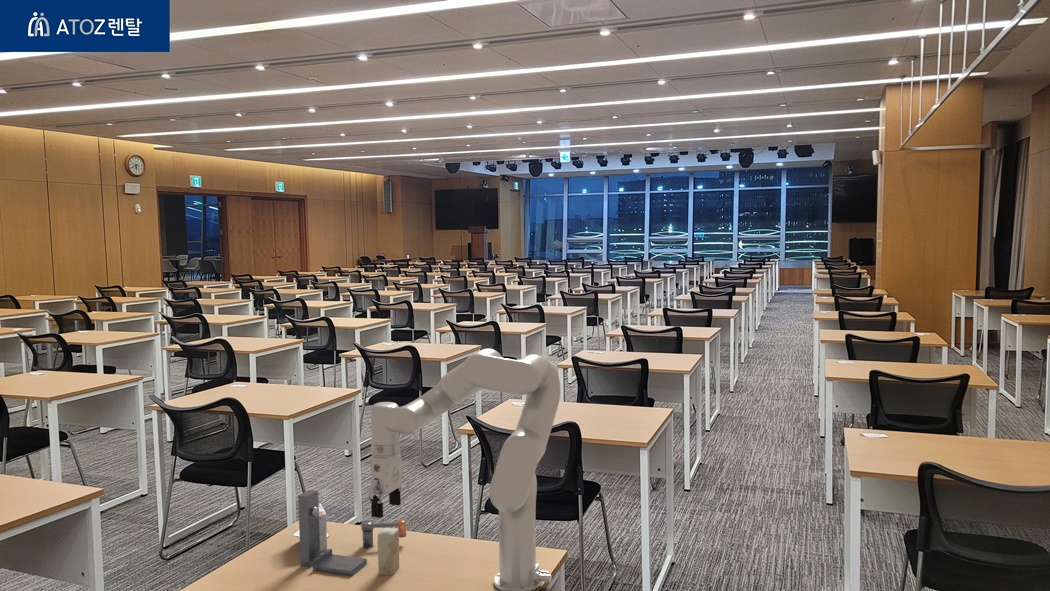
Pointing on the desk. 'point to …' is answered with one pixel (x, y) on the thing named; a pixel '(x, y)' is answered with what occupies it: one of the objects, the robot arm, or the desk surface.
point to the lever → (371, 525)
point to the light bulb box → (322, 528)
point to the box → (388, 551)
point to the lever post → (367, 539)
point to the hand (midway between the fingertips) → (386, 510)
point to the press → (312, 541)
